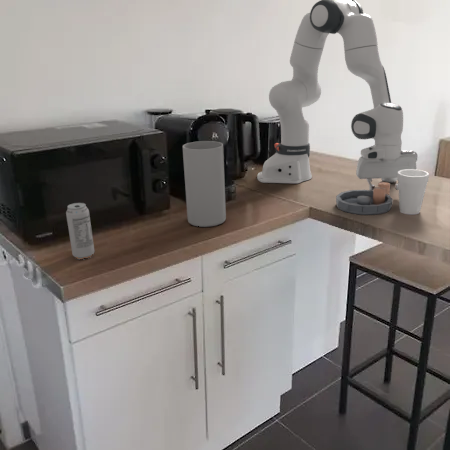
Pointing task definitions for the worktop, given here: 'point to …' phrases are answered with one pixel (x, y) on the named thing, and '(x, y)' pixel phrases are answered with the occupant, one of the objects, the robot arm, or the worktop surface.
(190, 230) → the worktop surface
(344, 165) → the worktop surface
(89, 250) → the energy drink can
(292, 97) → the robot arm
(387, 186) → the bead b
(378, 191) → the peach egg shape
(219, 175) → the cylinder vase
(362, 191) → the tray
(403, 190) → the foam cup
